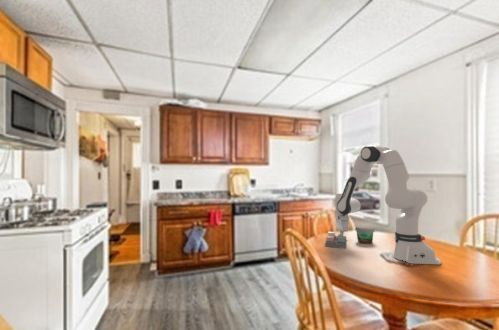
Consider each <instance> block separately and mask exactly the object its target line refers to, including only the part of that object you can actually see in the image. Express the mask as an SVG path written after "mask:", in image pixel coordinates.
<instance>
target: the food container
mask: <svg viewBox="0 0 499 330" xmlns="http://www.w3.org/2000/svg"><path fill="white" fill-rule="evenodd" d="M355 232H356V238H357V242H358V243H361V244H364V245H365V244H367V245H370V244H373V237H374V233H375V229H374V227H373V228H365V227H362V228H360V227H355Z"/></svg>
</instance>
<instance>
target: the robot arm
mask: <svg viewBox="0 0 499 330" xmlns="http://www.w3.org/2000/svg"><path fill="white" fill-rule="evenodd" d="M375 164H376V165H383V168H384V173H385V176H386V179H387V181H388V191H387V192H386V194H385V196H384V201H385V204H386V205H387V206H388V207H389V208H390V209H391V208H392V209H395V210H400V212H399V214H398V215H397V216H396V218H395V232H394V242H395V244H394V245H395V246H394V252H393V254H392V255H393V256H392V257H393V258H395V259H397V260H399V261H402V260H403V262H405V261H406V263H407V264H416V265H417V264H418V265H419V264H420V265H437V266H438V265H441V264H442V261H441V259H440V258H438V257H437V255H436V253H435V250H434V249H433V248H432V247H431V246H430V245H428V244H427V243H426V242H424V241H425V240H426V237H425V236H424V235H421V234H420V233H419V221H420V217H421V216H420V215H421V212H422V210H423V208H424V206H426V204H427V203H428V196H427V194H426V192H424V191H423V190H420V189H416V188H408V187H407V186H408V185H407V182H408V180H409V179H410V175H409V172H408V170H407V167H406V165H405V162H404V160H403V158H402V156H401V155H400V153H399V152H398V151H397V150H395V149H389V148H388V147H384V146H378V145H365V146H364V147H362V149H361V151H360V153H359V154H358V155H357V157H356V159H355V161H354V164H353V168H352V170H351V173H350V175H349V178H348V179H347V181H346V182H345V185H344V188H343V192H342V193H337V194H336V195H335V196H334V197H335V198H334V208H335V210H334V218H335V226H336V227H337V228H338V230H339V234H340V235H344V232H348V231H349V221H350V216H349V214H354V213H357V212H359V211H360V210H361V207H362V205H361V202H360V201H359V200H358V199H357V198H355V197H353V195H354V192H355V190H356V189H357V188H358V187H359V186H361V185H362V184H365V183H366V182H368V179H369V177H370V175H371V172H372V167H373V165H375Z"/></svg>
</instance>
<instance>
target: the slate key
mask: <svg viewBox="0 0 499 330" xmlns="http://www.w3.org/2000/svg"><path fill="white" fill-rule="evenodd" d="M338 242H343V243H345V237H338Z"/></svg>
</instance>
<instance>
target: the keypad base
mask: <svg viewBox="0 0 499 330" xmlns="http://www.w3.org/2000/svg"><path fill="white" fill-rule="evenodd" d="M327 236H328V234H327ZM327 236H326V237H327ZM347 245H348V244H347V236H346V235H345V243H343V242H338V235H335V237H334V242H330V241H327V239H325V246H326V248H336V249H337V248H339V249H346V248H347V247H346V246H347Z"/></svg>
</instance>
